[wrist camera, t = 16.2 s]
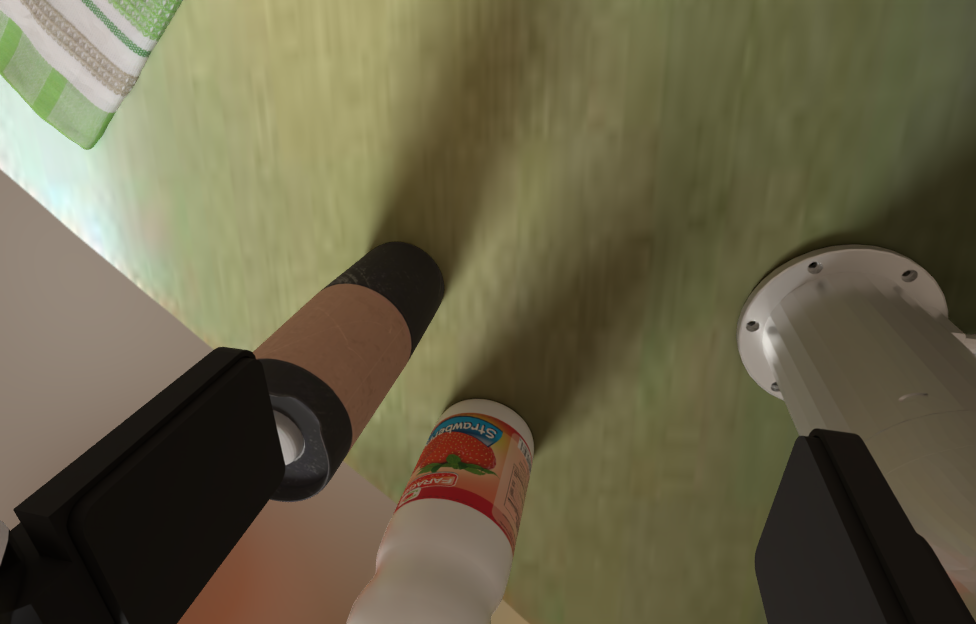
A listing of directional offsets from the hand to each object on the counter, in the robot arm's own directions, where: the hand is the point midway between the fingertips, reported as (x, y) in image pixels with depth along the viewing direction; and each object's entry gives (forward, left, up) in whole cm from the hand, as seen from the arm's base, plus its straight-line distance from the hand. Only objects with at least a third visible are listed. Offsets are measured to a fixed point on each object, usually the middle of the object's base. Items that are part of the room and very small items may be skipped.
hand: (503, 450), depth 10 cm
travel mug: (+14, +12, -31) cm, 36 cm away
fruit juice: (+7, +27, -31) cm, 41 cm away
